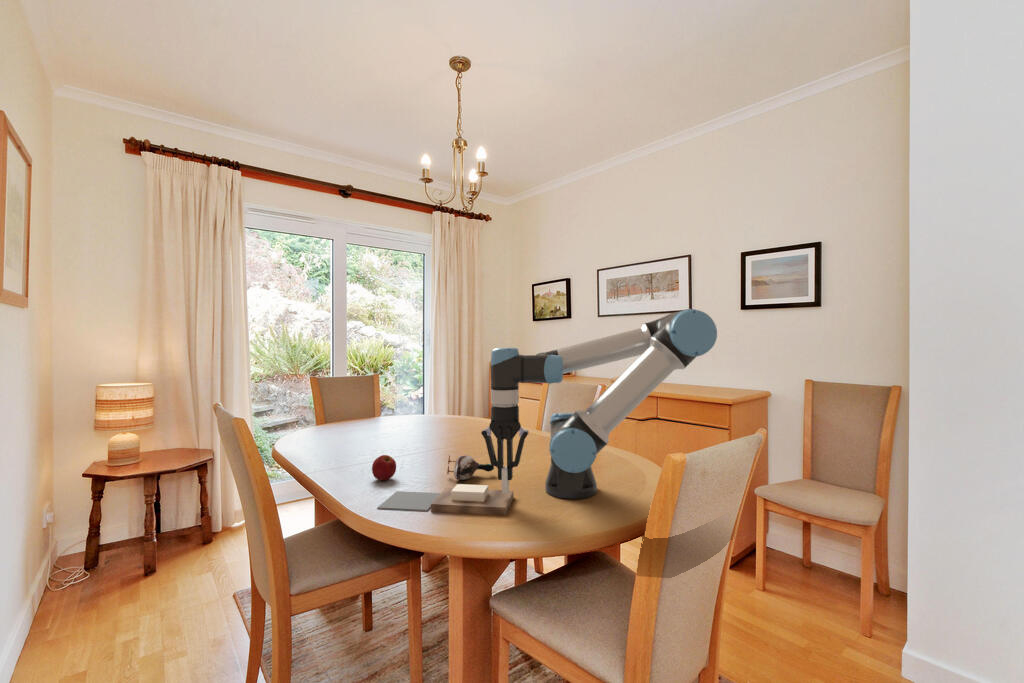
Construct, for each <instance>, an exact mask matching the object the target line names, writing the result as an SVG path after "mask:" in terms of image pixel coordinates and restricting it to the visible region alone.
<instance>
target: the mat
mask: <svg viewBox="0 0 1024 683" xmlns="http://www.w3.org/2000/svg"><path fill="white" fill-rule="evenodd" d="M440 493H441V492H425V491H424V492H421V491H401V490H397V491H395V492H394V493H393V494H392V495H390V496H389V497H388V498H387V499H385V501H383V502H382V503H381V504H379V505H378V506H377V508H376V509H377V510H388V511H389V510H392V511H409V512H411V511H413V512H414V511H416V512H428V511H429V510H431V503H432V502H433V501H434V500H435V499H436V498H437V497H438V496H439V495H440Z"/></svg>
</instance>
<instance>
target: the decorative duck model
mask: <svg viewBox="0 0 1024 683" xmlns="http://www.w3.org/2000/svg"><path fill="white" fill-rule="evenodd" d="M453 462H454V468H453V470H450V463H453ZM447 463H448V466H447V473H446V474H447V475H449V473H453V475H454V478H455V479H456V480H458V481H465V480H470V478H472V477H473V476H474V474H475V473H476V471H477V470H482V471H485V472H492V471H493V470H494V469H495V466H492V465H491V463H485V464H483V463H478V461H476V460H475V459H474V458H473V456H471V455H465V454H464V455H459V457H457V459H456V460H451V455H450V454H449V455H448V462H447Z"/></svg>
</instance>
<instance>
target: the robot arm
mask: <svg viewBox="0 0 1024 683" xmlns="http://www.w3.org/2000/svg"><path fill="white" fill-rule="evenodd" d="M717 338H718V329H717V325H716V323H715V321H714V320H713V318H712V317H711V316H710V315H709V314H707V313H706V312H704V311H702V310H700V309H694V308H686V309H684V310H683V309H682V310H680V311H675V312H672V313H669V314H667V315H664V316H662V317H660V318H657V319H654V320H652V321H649V322H645V323H642V325H641V326H640V327H639V328H635V329H632V330H627V331H624V332H620V333H616V334H612V335H608V336H605V337H604V336H603V337H601V338H595V339H592V340H589V341H585V342H580V343H576V344H573V345H569V346H566V347H561V348H557V349H554V350H550V351H545V352H539V353H537V354H531V355H526V354H525V355H523V354H520V353H519V349H518V348H517V347H496V348H493V349H492V350H491V353H490V354H491V355H490V357H491V358H490V403H491V404H492V405H491V407H490V423H489V426H488V427H486V428H484V429H483V430H481V435H482V437H483V438H484V441H485V444H486V449H487V450H486V451H487V453H488V454H487V455H488V457H489V462H490V464H491V465H492V466H494V467H495V468H497V479H498V480H499V481H501V490H502V493H506V494H507V493H508V491H509V490H510V481H512V480H513V477H514V476H513V473H514V472H513V471H514V470H513V468H516V467H518V466H519V465H520V462H521V457H522V453H523V449H524V444H525V440H526V438H527V437H528V435H529V433H530V432H529V430H527V429H524V428H523V427H522V425H521V422H520V409H519V408H520V406H519V405H517V404H519V402H520V398H519V396H520V395H519V392H520V391H519V390H520V389H519V387H520V386H519V385H520V384H528V383H529V384H549V385H550V384H551V385H552V384H560V383H562V382H563V381H564V380H563V379H564V374H568V373H572V372H576V371H580V370H581V371H582V370H584V369H589V368H593V367H597V366H600V365H605V364H609V363H614V362H618V361H623V360H625V359H626V360H627V359H629V358H635V357H638V358H637V359H636V360H634V362H633V363H632V364H630V366H628V367H627V368H626V370H624V372H623V373H622V374H620V376H618V377H617V378H616V379H615V381H613V382H612V383H611V384H610V385H609V386H608V387H607V388H606V389H605V390H604V391H603V392H602V393H601V394H600V395H599V396H598V397H597V398H596V399H595V400H594V401H593V402H592V403H591V404H590V405H589V406H588V407H587V408H586V409H583V410H576V411H575V412H555V413H553V414H551V415H550V421H549V425H550V439H549V440H550V441H549V447H548V448H549V449H548V450H549V454H550V466H549V469H548V473H547V476H546V479H545V482H544V483H545V488H544V490H545V492H546V493H547V494H548V495H550V496H552V497H555V498H561V499H565V500H566V499H567V500H568V499H569V500H579V499H587V498H590V497H593V496H594V495H596V494H597V492H598V491H597V490H598V489H597V488H598V487H597V486H598V485H597V481H596V477H595V475H594V472H593V469H592V465H593V464H594V462H595V460H596V458H597V456H598V454H599V453H600V452H601V451H602V450H603V449H604V448H605V447H606V446H607V445H608V444H609V438H610V437H609V435H610V433H611V432H613V430H614V429H615V428H616V427H618V425H620V424H621V422H623V421H624V420H625V419H626V417H628V416H629V415H630V414H631V413H632V412H633V411H634V410H635V409H636V408H637V407H638V406H639V405H640V404H641V403H642V402H643V401H644V400H645V399H646V398H647V397H648V396H650V395H651V393H652V392H653V391H654V390H655V389H657V388H658V387H659V385H660V384H661V383H663V382H664V381H665V380H666V379H667V378H668V377H669V375H671V374H672V373H673V372H674V371H676V370H684V369H686V368H687V366H689V365H690V364H691V363H692V362H693V361H694V360H695V359H696V358H697V357H701V356H704V355H705V354H707V353H709V351H711V349H712V348H713V347H714V346H715V344H716V342H717ZM492 434H493V435H494V436H495V438H496V442H497V443H496V444H497V457H496V451H495V447H494V442H493V439H492ZM517 434H518V436H519V437H520V438H519V441H518V443H517V449H516V453H515V458H514V457H513V456H514V454H513V453H514V451H513V450H514V449H513V446H514V445H513V444H514V438H515V436H516V435H517ZM504 440H506V466H504V465H505V464H504ZM513 458H514V459H513Z"/></svg>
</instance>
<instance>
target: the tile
mask: <svg viewBox="0 0 1024 683" xmlns="http://www.w3.org/2000/svg"><path fill="white" fill-rule="evenodd" d="M452 488H453V490H452V491H451V500H461V501H483V502H484V500H485V499H486V497H487V496H488V490H489V484H488V485H487V484H466V483H465V484H463V483H457V484H456V485H455V486H454V487H452Z"/></svg>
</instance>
